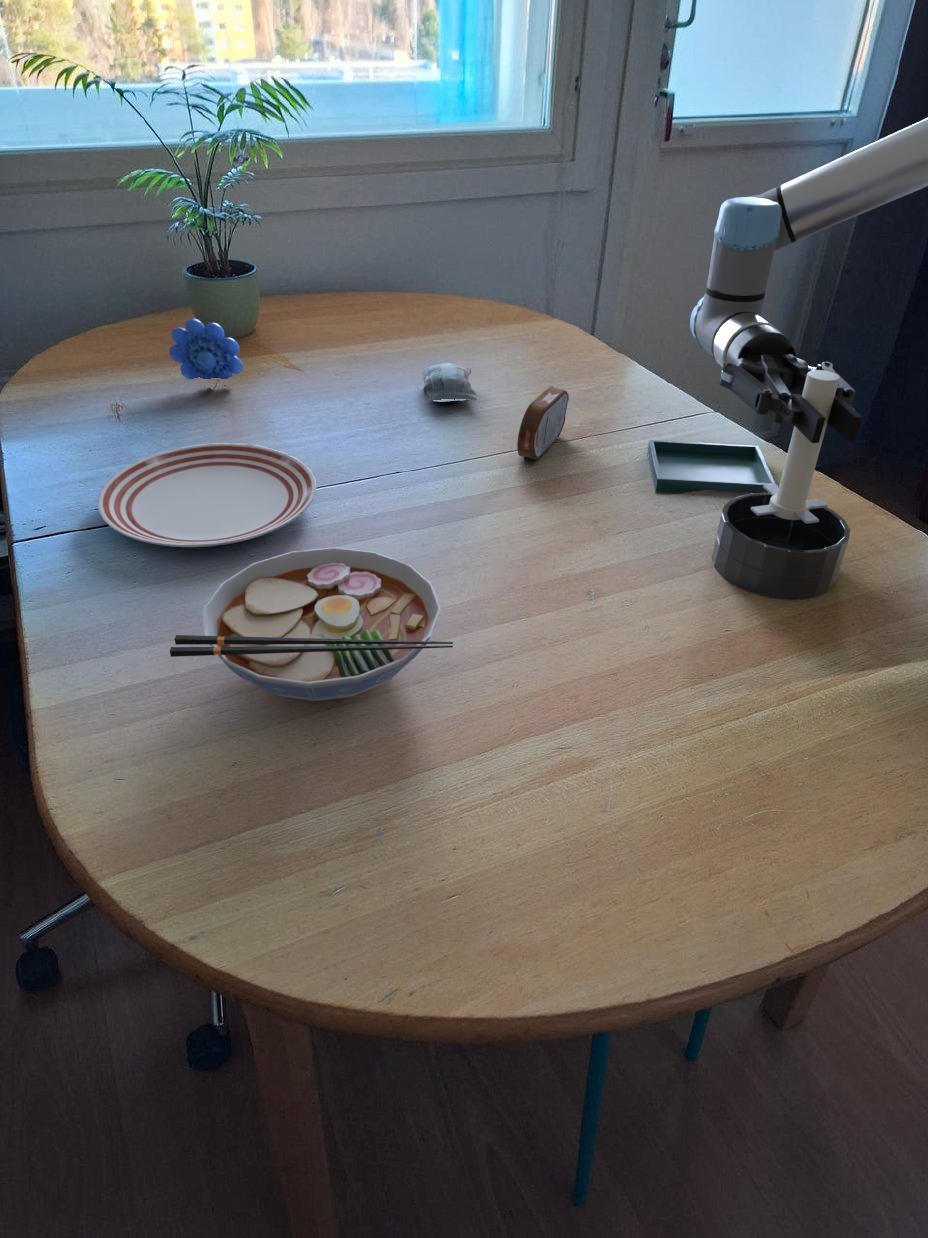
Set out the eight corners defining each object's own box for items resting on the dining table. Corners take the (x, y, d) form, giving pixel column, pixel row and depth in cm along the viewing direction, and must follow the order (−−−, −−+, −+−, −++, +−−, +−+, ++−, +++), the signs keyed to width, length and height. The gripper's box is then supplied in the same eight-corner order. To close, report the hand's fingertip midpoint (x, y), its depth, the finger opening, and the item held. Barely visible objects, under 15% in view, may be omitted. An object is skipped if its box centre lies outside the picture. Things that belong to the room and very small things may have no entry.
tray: (755, 458, 131) (758, 445, 130) (773, 499, 121) (776, 485, 119) (647, 452, 132) (649, 439, 131) (655, 492, 122) (657, 478, 120)
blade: (800, 489, 105) (835, 357, 96) (845, 525, 98) (888, 386, 89) (733, 497, 103) (762, 363, 94) (774, 534, 96) (810, 393, 87)
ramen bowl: (450, 603, 98) (451, 540, 93) (452, 745, 79) (453, 676, 75) (226, 602, 97) (215, 539, 93) (175, 746, 79) (159, 675, 74)
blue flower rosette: (175, 400, 145) (162, 327, 138) (177, 385, 151) (164, 315, 144) (246, 396, 147) (237, 324, 140) (246, 381, 153) (237, 312, 146)
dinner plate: (351, 530, 111) (350, 506, 109) (132, 587, 99) (126, 562, 98) (274, 449, 130) (272, 428, 128) (82, 489, 119) (77, 467, 117)
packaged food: (471, 384, 154) (471, 356, 151) (476, 410, 144) (477, 381, 142) (421, 385, 154) (421, 357, 151) (424, 411, 144) (423, 382, 141)
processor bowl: (817, 545, 110) (831, 496, 106) (847, 609, 99) (865, 556, 95) (703, 538, 111) (714, 489, 107) (721, 601, 100) (733, 548, 96)
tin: (549, 428, 139) (554, 377, 134) (568, 432, 138) (573, 380, 133) (513, 465, 128) (517, 410, 123) (533, 469, 127) (538, 414, 122)
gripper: (809, 382, 111) (901, 462, 92) (685, 384, 109) (752, 465, 90) (825, 322, 106) (924, 393, 87) (695, 324, 105) (767, 396, 86)
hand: (836, 429), depth 89 cm, fingers closed on blade, 3 cm apart
